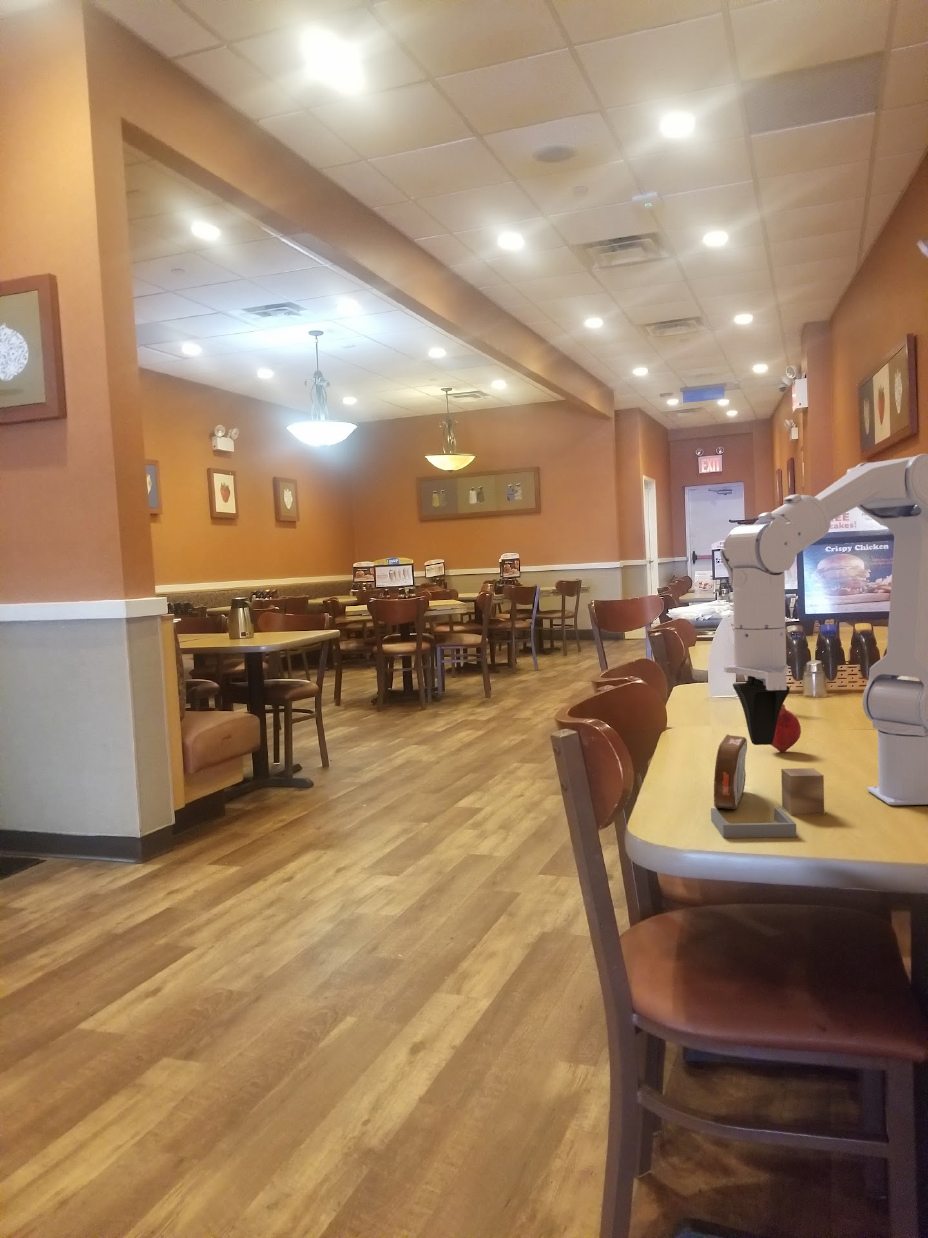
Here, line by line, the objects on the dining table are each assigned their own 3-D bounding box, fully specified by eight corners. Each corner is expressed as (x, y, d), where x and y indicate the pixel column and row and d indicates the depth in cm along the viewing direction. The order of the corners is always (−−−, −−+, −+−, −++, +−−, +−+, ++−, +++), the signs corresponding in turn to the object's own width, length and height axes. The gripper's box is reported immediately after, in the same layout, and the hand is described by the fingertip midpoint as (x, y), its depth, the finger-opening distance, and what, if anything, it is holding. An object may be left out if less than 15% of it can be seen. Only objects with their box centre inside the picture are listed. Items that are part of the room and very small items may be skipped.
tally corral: (779, 819, 109) (778, 807, 108) (796, 837, 101) (796, 824, 101) (711, 820, 109) (710, 808, 109) (723, 838, 102) (723, 825, 102)
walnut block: (813, 806, 114) (813, 768, 113) (824, 815, 110) (823, 775, 109) (782, 807, 114) (781, 768, 114) (791, 815, 110) (790, 776, 110)
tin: (726, 787, 125) (725, 728, 125) (750, 789, 124) (748, 729, 123) (711, 816, 111) (710, 750, 111) (737, 818, 110) (736, 751, 110)
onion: (804, 755, 143) (803, 706, 142) (766, 755, 144) (765, 707, 143) (797, 748, 148) (796, 701, 148) (761, 748, 150) (760, 701, 149)
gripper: (711, 624, 110) (714, 733, 111) (738, 633, 96) (741, 757, 96) (770, 622, 109) (772, 731, 110) (805, 631, 95) (807, 756, 96)
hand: (761, 743), depth 103 cm, fingers closed
